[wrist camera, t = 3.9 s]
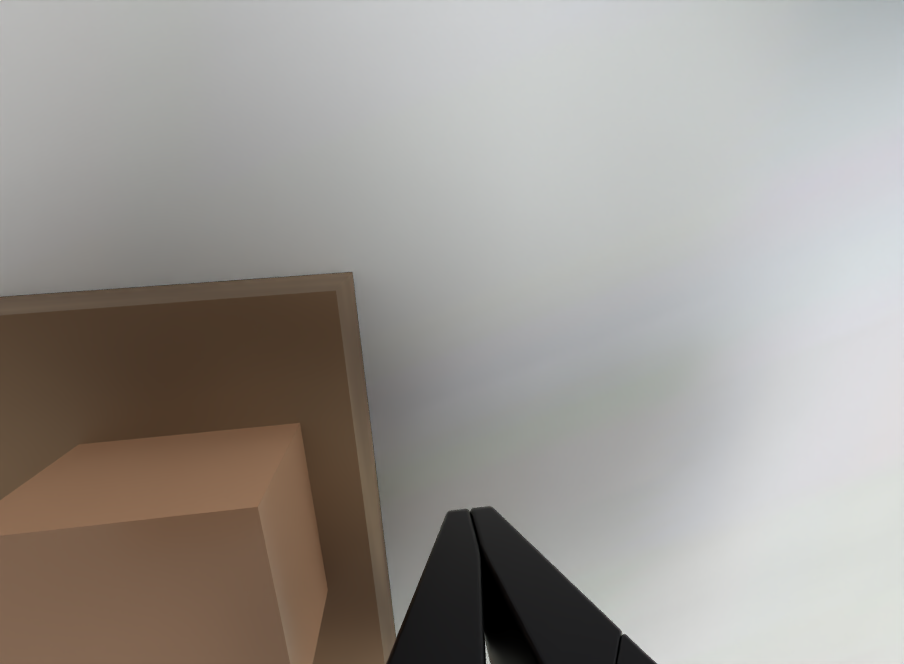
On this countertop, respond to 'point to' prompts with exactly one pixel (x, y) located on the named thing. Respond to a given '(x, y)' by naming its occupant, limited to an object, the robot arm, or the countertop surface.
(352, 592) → the wood-grain board
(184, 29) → the countertop surface
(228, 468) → the block
